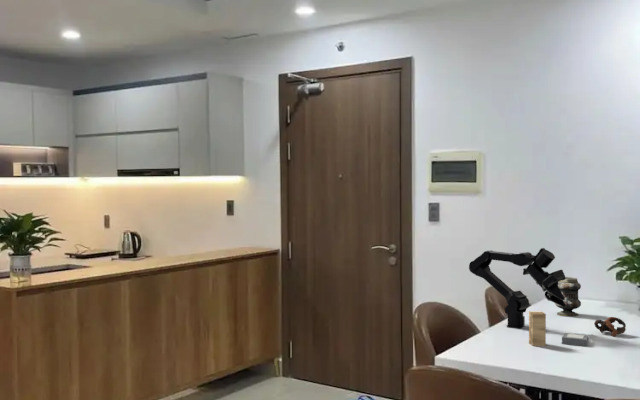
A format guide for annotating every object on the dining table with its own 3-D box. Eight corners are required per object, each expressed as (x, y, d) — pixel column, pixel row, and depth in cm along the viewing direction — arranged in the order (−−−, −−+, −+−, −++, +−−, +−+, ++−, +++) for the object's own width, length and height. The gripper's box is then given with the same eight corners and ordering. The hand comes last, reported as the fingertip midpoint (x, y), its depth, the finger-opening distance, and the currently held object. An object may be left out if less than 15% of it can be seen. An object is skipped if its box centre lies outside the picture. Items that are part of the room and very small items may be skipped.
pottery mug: (619, 333, 278) (626, 318, 274) (621, 347, 270) (629, 332, 266) (590, 325, 280) (597, 310, 276) (591, 338, 272) (598, 324, 268)
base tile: (561, 343, 257) (562, 337, 257) (564, 339, 265) (564, 332, 265) (586, 346, 253) (586, 339, 253) (588, 341, 261) (588, 334, 261)
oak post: (528, 342, 259) (529, 311, 258) (541, 343, 258) (541, 311, 258) (532, 345, 254) (532, 313, 253) (545, 346, 253) (545, 313, 253)
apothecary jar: (583, 313, 319) (583, 277, 318) (578, 317, 308) (578, 279, 308) (557, 311, 325) (557, 275, 325) (551, 315, 315) (551, 278, 315)
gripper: (553, 256, 272) (579, 284, 263) (556, 271, 287) (581, 298, 278) (531, 272, 272) (557, 300, 263) (535, 286, 288) (559, 314, 279)
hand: (564, 303), depth 271 cm, fingers open, 9 cm apart
